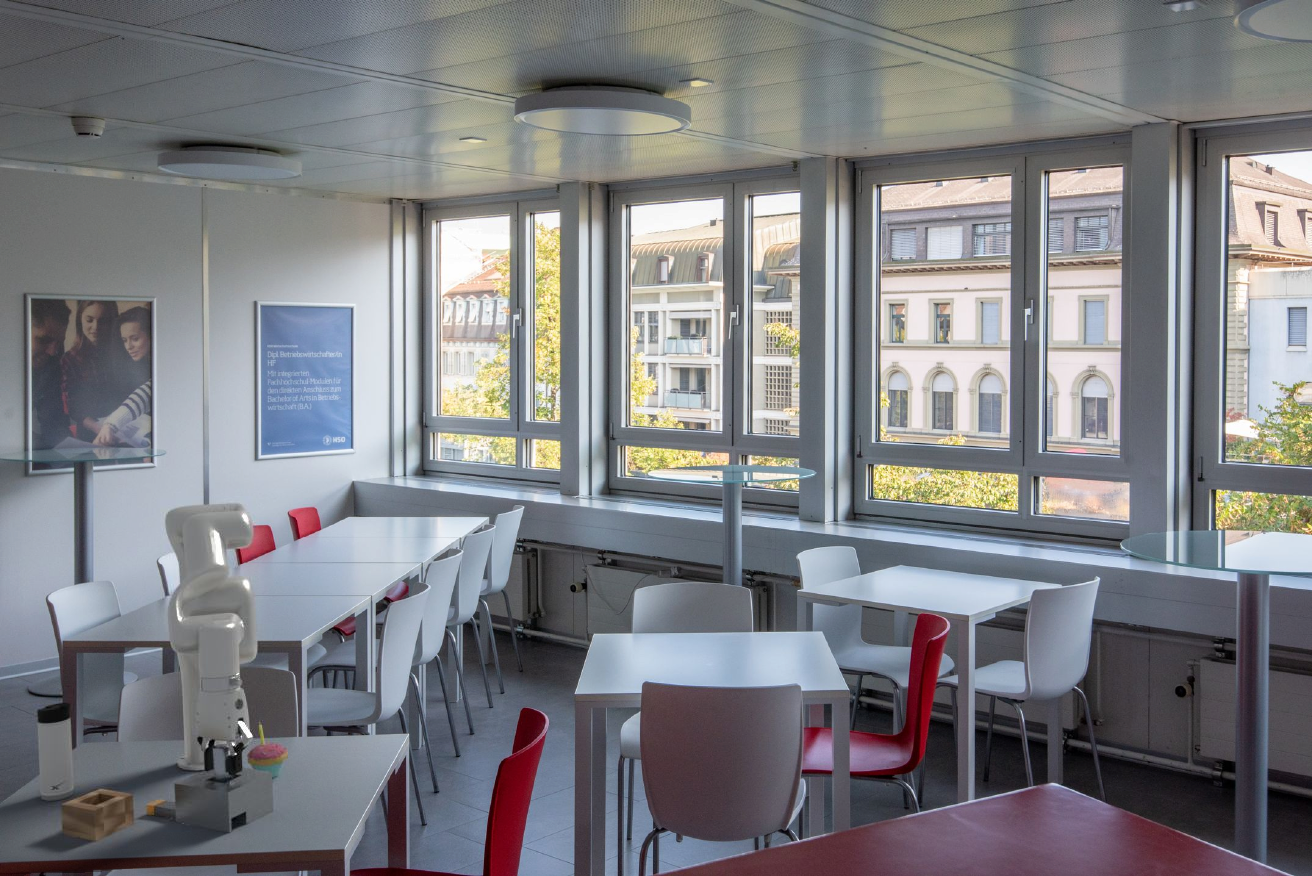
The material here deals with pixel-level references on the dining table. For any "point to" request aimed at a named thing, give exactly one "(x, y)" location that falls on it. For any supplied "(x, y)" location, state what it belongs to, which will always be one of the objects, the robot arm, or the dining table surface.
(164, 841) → the dining table surface
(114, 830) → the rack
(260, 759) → the cupcake
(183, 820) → the socket block
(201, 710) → the robot arm
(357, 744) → the dining table surface
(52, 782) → the travel mug
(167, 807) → the bar
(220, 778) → the peg
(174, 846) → the dining table surface
